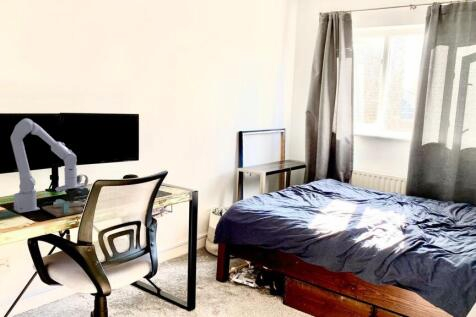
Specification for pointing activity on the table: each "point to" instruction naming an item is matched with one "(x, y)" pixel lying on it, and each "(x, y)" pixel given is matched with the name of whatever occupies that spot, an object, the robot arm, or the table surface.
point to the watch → (82, 189)
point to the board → (58, 210)
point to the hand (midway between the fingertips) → (71, 203)
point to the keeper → (63, 205)
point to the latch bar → (71, 203)
